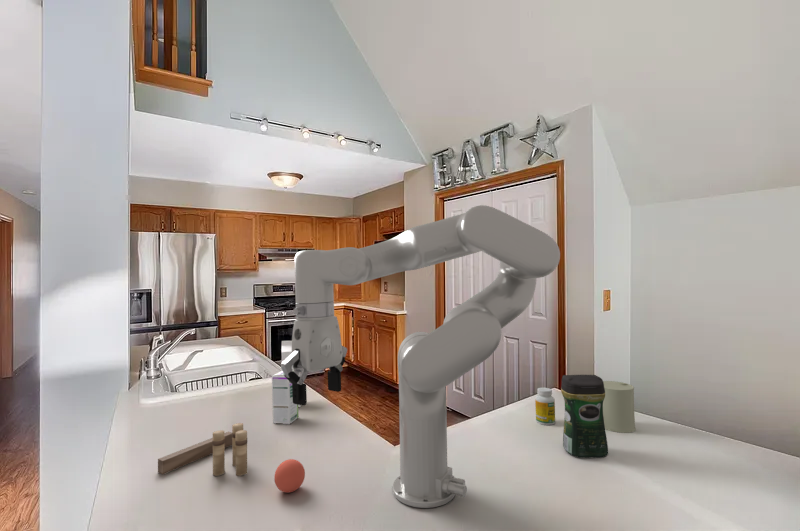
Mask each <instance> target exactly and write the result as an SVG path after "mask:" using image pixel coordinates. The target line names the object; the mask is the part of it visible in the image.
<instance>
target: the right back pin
mask: <svg viewBox="0 0 800 531" xmlns="http://www.w3.org/2000/svg"><path fill="white" fill-rule="evenodd" d="M231 428H232V431H231V432H232V445H231V448H232V452H231V453H232V454H231V455H232V464H231V465H232V466H233V467H236V445H235V439H236V432H237V431H241V430H244V423H241V422H239V423H234V424H232V426H231Z"/></svg>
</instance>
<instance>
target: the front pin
mask: <svg viewBox="0 0 800 531" xmlns="http://www.w3.org/2000/svg"><path fill="white" fill-rule="evenodd" d="M235 445H236V466H235V476H238V477H239V476H244V475H246V474H248V431H247V430H245V429H243V430H241V431H237V432H236V439H235Z"/></svg>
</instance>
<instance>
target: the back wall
mask: <svg viewBox="0 0 800 531" xmlns="http://www.w3.org/2000/svg"><path fill="white" fill-rule="evenodd" d="M224 438H225V449H227V448H228V447H230V446H231V447H232V431H225V432H224ZM212 440H213V437H211V438H209V439H205V440H203V441H201V442H198V443H196V444H193V445H190V446H187V447H184V448H183V449H180V450H178V451H175V452H172V453H170V454H167V455H165V456H162V457H160V458H157V473H158V474H160V475H165V474H168V473H170V472H172V471H174V470H177V469H179V468H182V467H184V466H186V465H188V464H189V465H190V464H191V463H194V462H196V461H198V460H200V459H203V458H205V457H207V456H209V455H213V445H212Z"/></svg>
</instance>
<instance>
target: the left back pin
mask: <svg viewBox="0 0 800 531" xmlns="http://www.w3.org/2000/svg"><path fill="white" fill-rule="evenodd" d="M224 433H225V430H223V429H222V430H221V429H220V430H216V431H214V432H212V438H213V440H212V445H213V453H212V476H214V477H219V476H222V475H223V474H225V473H226V471H225V469H226V468H225V464H226V463H225V462H226V461H225V459H226V458H225V455H226V454H225V451H226V450H225V449H226V448H225V438H224Z"/></svg>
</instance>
